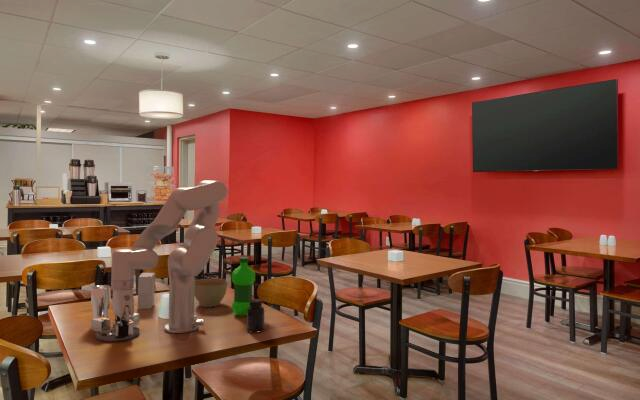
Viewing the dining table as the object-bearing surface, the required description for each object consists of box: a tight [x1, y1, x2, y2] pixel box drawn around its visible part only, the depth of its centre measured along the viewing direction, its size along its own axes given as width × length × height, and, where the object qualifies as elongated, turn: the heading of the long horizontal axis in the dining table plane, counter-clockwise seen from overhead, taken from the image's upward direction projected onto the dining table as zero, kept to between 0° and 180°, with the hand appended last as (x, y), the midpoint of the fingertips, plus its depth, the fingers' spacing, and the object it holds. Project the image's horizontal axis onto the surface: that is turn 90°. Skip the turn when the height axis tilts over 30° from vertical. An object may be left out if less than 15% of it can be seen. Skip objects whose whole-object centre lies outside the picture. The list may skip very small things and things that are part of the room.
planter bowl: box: [194, 278, 229, 308], centre depth 214 cm, size 16×16×11 cm
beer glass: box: [90, 284, 111, 319], centre depth 181 cm, size 7×7×15 cm
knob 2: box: [112, 320, 133, 336], centre depth 165 cm, size 4×6×5 cm, turn 129°
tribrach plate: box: [94, 326, 141, 343], centre depth 170 cm, size 15×15×2 cm
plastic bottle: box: [231, 256, 256, 316], centre depth 199 cm, size 10×10×25 cm
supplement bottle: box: [246, 298, 265, 332], centre depth 179 cm, size 7×7×12 cm
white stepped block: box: [124, 312, 140, 327], centre depth 175 cm, size 4×6×5 cm, turn 71°
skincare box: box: [137, 272, 156, 310], centre depth 208 cm, size 8×6×15 cm
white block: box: [90, 316, 111, 333], centre depth 168 cm, size 4×6×5 cm, turn 61°
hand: (121, 333), depth 165 cm, fingers closed on knob 2, 3 cm apart
